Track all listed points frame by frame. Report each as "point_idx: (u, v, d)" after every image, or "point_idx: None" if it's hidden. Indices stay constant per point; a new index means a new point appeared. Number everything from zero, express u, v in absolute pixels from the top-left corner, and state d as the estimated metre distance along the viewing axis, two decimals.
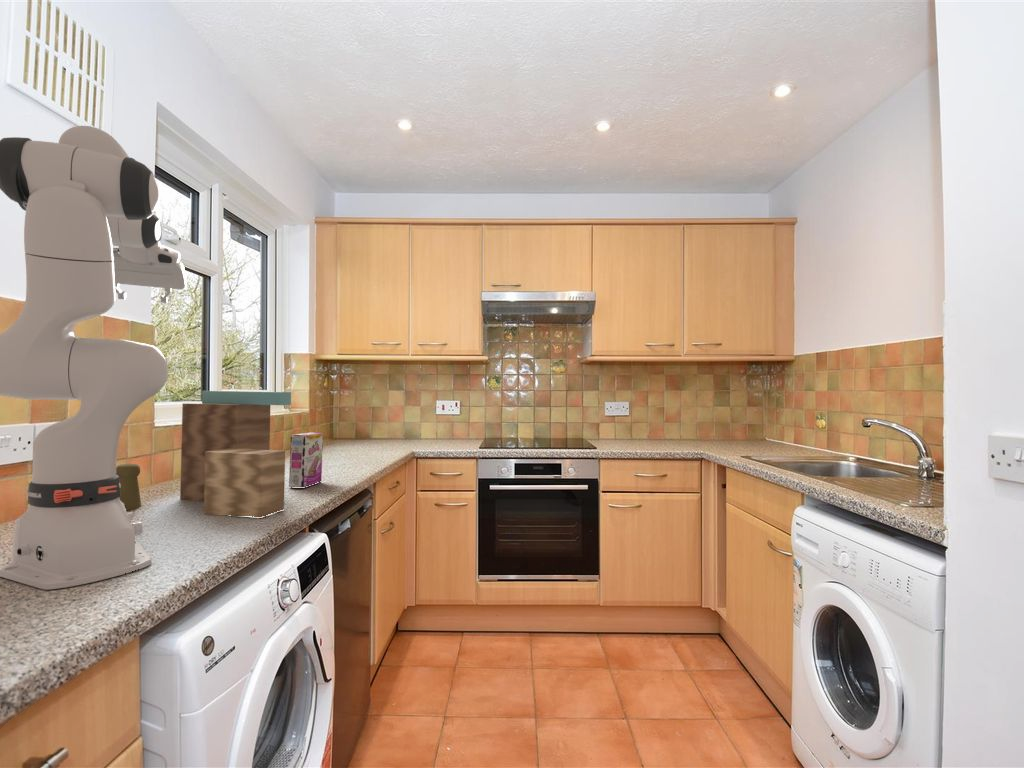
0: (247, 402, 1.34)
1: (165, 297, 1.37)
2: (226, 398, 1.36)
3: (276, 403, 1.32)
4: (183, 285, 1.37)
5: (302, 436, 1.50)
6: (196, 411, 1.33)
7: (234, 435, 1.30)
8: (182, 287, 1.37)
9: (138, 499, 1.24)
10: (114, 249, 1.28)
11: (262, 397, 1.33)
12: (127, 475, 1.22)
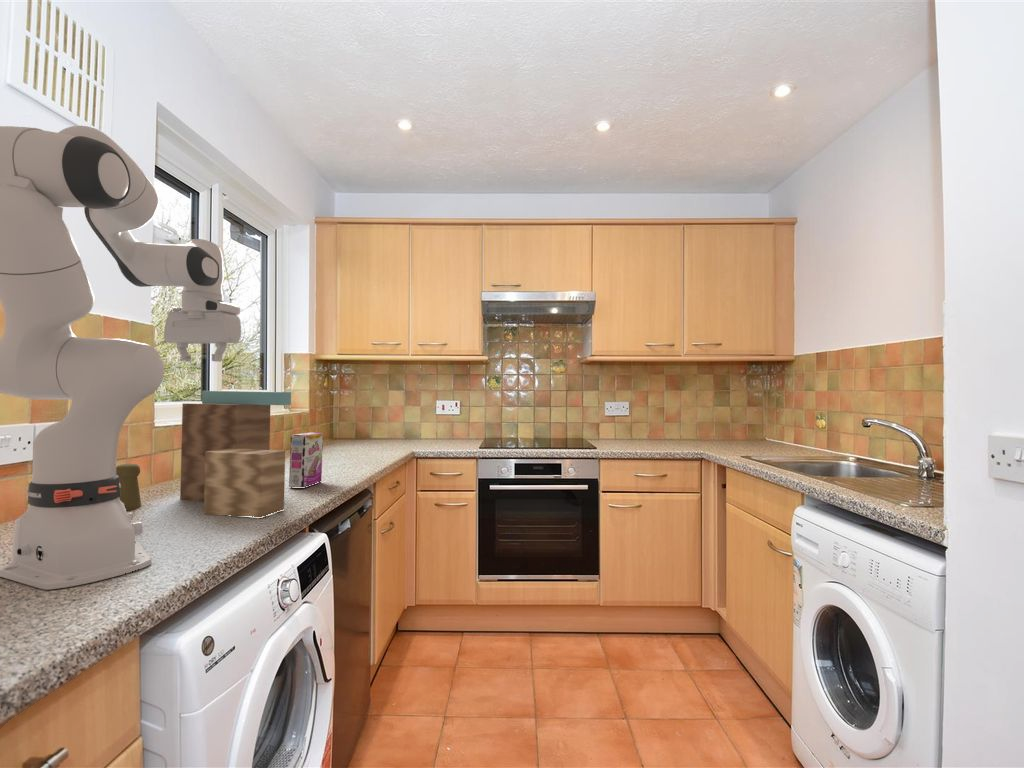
0: (247, 402, 1.34)
1: (215, 354, 1.22)
2: (226, 398, 1.36)
3: (276, 403, 1.32)
4: (228, 336, 1.20)
5: (302, 436, 1.50)
6: (196, 411, 1.33)
7: (234, 435, 1.30)
8: (227, 338, 1.20)
9: (138, 499, 1.24)
10: None
11: (262, 397, 1.33)
12: (127, 475, 1.22)
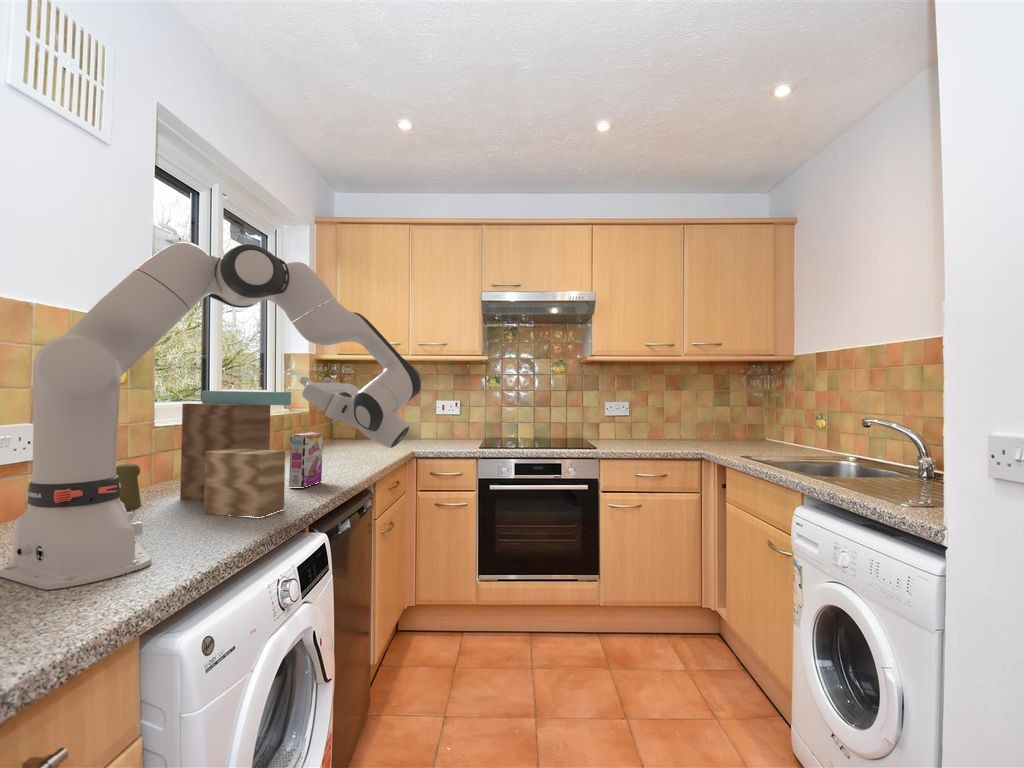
0: (247, 402, 1.34)
1: (307, 379, 1.26)
2: (226, 398, 1.36)
3: (276, 403, 1.32)
4: (311, 384, 1.21)
5: (302, 436, 1.50)
6: (196, 411, 1.33)
7: (234, 435, 1.30)
8: (309, 383, 1.21)
9: (138, 499, 1.24)
10: None
11: (262, 397, 1.33)
12: (127, 475, 1.22)
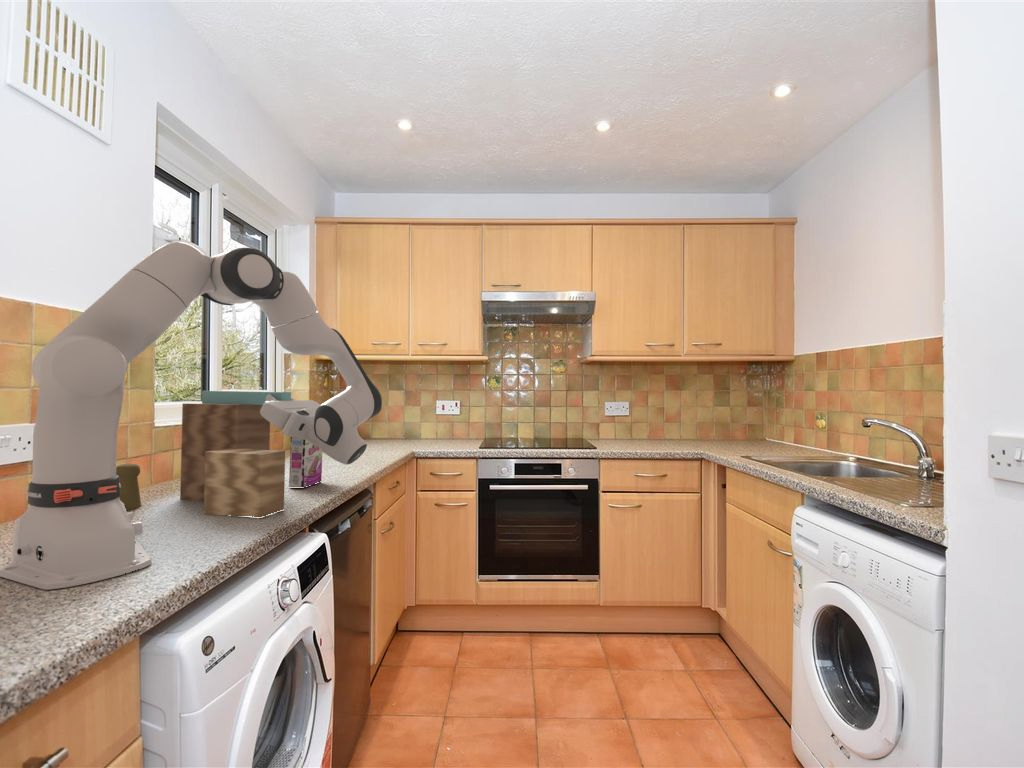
0: (247, 402, 1.34)
1: (273, 397, 1.31)
2: (226, 398, 1.36)
3: None
4: (268, 402, 1.24)
5: None
6: (196, 411, 1.33)
7: (234, 435, 1.30)
8: (267, 401, 1.24)
9: (138, 499, 1.24)
10: None
11: (262, 397, 1.33)
12: (127, 475, 1.22)
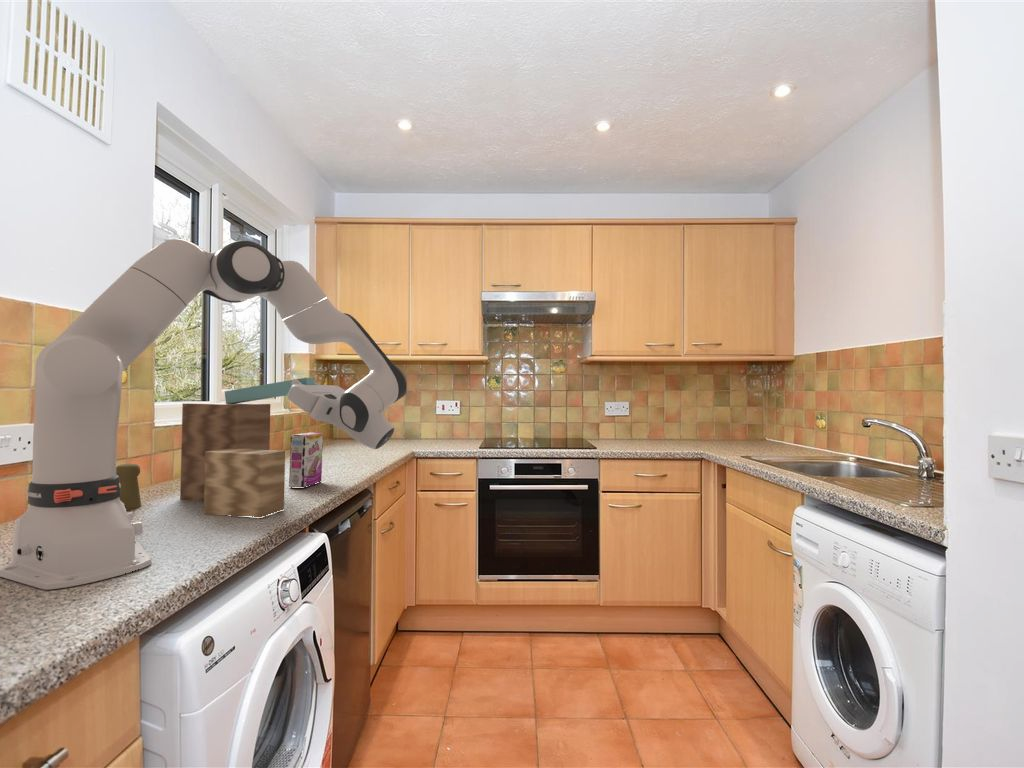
0: (272, 394, 1.33)
1: (298, 381, 1.29)
2: (250, 394, 1.34)
3: None
4: (296, 386, 1.22)
5: (302, 436, 1.50)
6: (196, 411, 1.33)
7: (234, 435, 1.30)
8: (294, 385, 1.22)
9: (138, 499, 1.24)
10: None
11: (286, 386, 1.32)
12: (127, 475, 1.22)
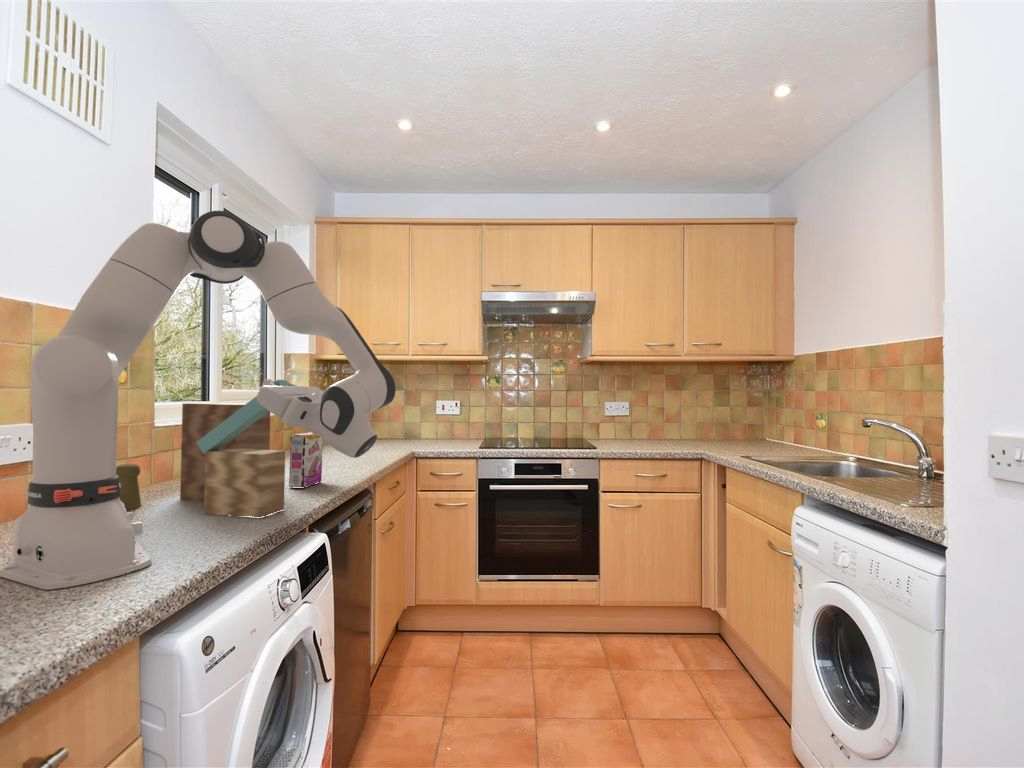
0: (249, 416, 1.18)
1: (271, 382, 1.16)
2: (225, 429, 1.19)
3: None
4: (266, 387, 1.09)
5: (302, 436, 1.50)
6: (196, 411, 1.33)
7: None
8: (264, 386, 1.09)
9: (138, 499, 1.24)
10: None
11: None
12: (127, 475, 1.22)
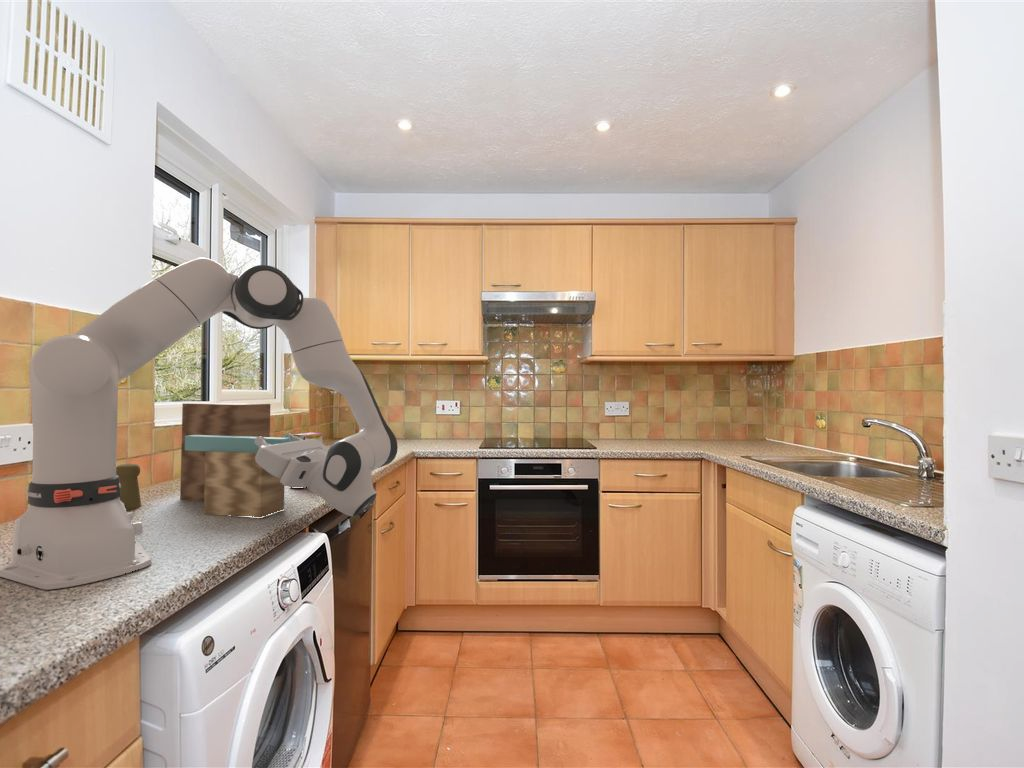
0: (240, 450, 1.19)
1: (263, 439, 1.14)
2: (214, 445, 1.20)
3: None
4: (264, 448, 1.08)
5: (302, 436, 1.50)
6: (196, 411, 1.33)
7: (234, 435, 1.30)
8: (263, 447, 1.09)
9: (138, 499, 1.24)
10: None
11: None
12: (127, 475, 1.22)
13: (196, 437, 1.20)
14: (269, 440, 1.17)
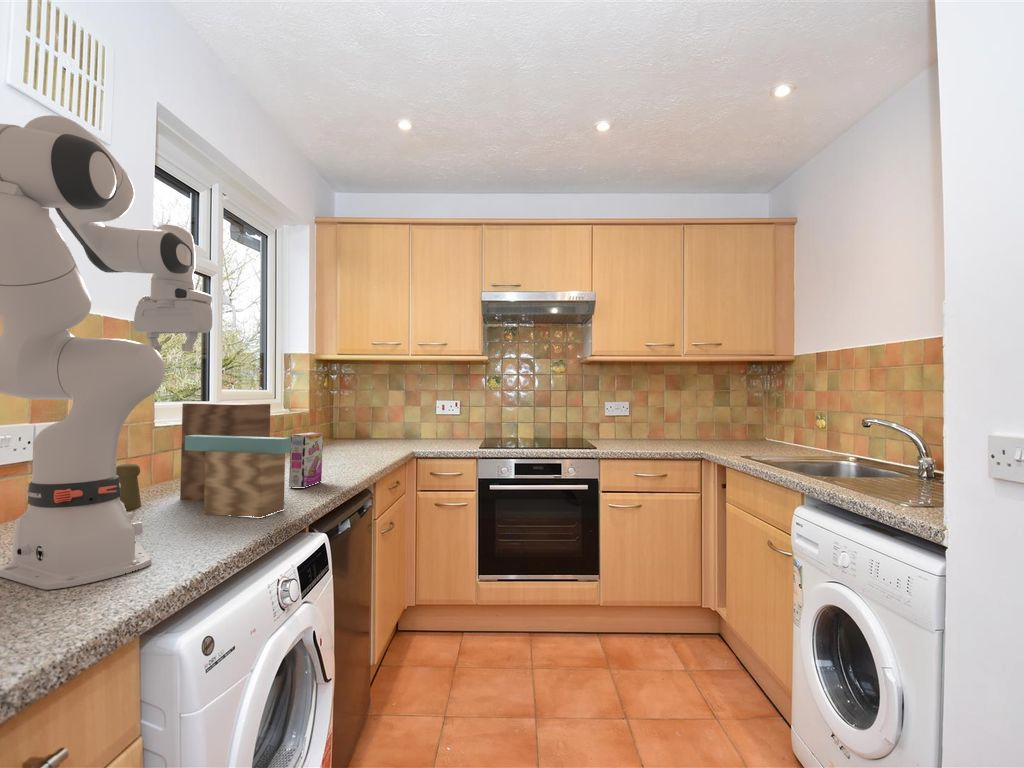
0: (240, 450, 1.19)
1: (185, 344, 1.18)
2: (214, 445, 1.20)
3: (275, 451, 1.17)
4: (198, 325, 1.16)
5: (302, 436, 1.50)
6: (196, 411, 1.33)
7: (234, 435, 1.30)
8: (197, 328, 1.16)
9: (138, 499, 1.24)
10: None
11: (257, 444, 1.18)
12: (127, 475, 1.22)
13: (196, 437, 1.20)
14: (269, 440, 1.17)
